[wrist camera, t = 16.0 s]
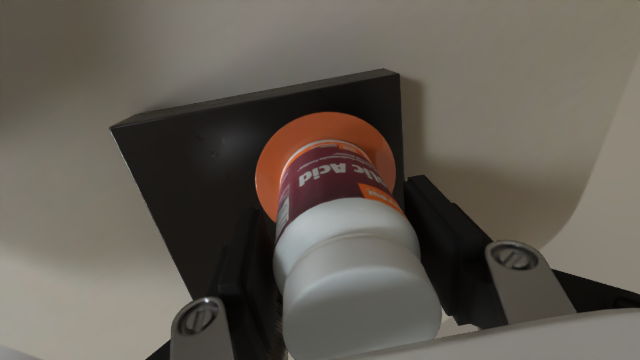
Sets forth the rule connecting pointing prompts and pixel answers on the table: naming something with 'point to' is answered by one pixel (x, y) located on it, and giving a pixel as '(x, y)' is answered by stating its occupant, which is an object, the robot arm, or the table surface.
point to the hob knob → (279, 338)
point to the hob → (236, 158)
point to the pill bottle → (347, 258)
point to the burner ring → (311, 131)
